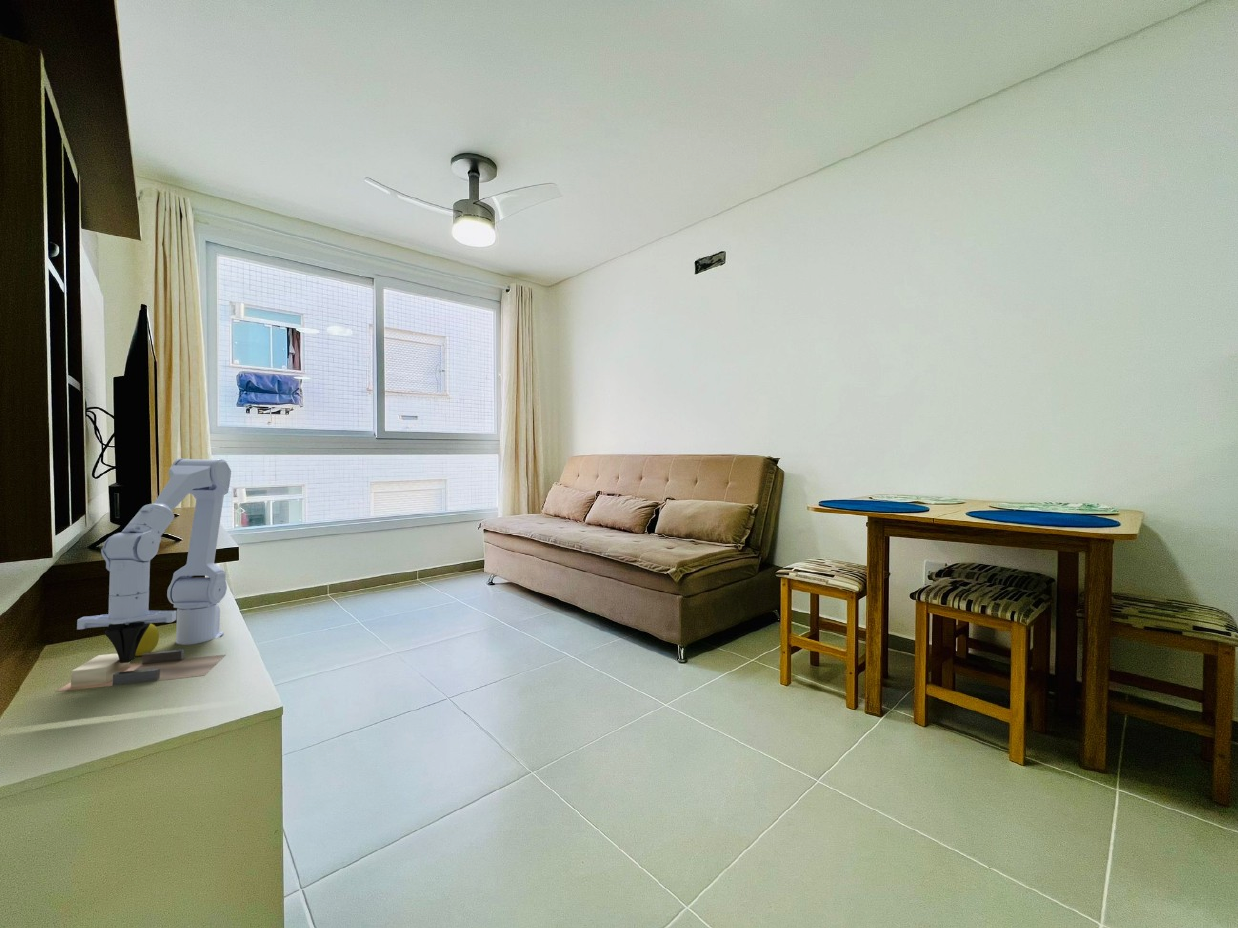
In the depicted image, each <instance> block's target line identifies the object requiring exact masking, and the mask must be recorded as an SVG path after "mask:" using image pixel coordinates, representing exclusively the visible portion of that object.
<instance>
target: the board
mask: <svg viewBox="0 0 1238 928" xmlns="http://www.w3.org/2000/svg"><path fill="white" fill-rule="evenodd" d="M225 657H226V654H218V655H209V656H206V655H205V656H197V657H187V658H186V657H184V659H183V660H181V661H173V662H162V663H152V664H142V662H136V663H135V662H134V663H130V667H129V668H128V669H126V670H125V671H135V670H145V669H155V668H160V678H159V679H158V680H157V681H156V682H159V681H168V680H169V681H170V680H176V679H177V680H178V679H185V678H186V679H187V678H188V679H189V678H196V677H197V678H198V677H205V676H207V674H208V673H209V672H210V671H211V670H213V668H215V666H216V665H217V664H218V663H220V662H221V660H223V658H225ZM125 671H123V672H125ZM149 682H150V683H151V682H153V681H149ZM149 682H148V683H149ZM141 683H143V682H140V683H139V684H141ZM132 684H134V683H131V685H132ZM121 685H124V686H125V684H121ZM121 685H120V686H121ZM113 686H115V687H116V685H113V679H112V680H110V681H109V682H108V683H106V684H97V685H88V686H78V687H71V681H69V683H67V684H65V685H64V686H62V687H60V688H59V689H57V690H55V693H57V692H67V691H76V690H77V691H79V690H86V689H87V690H88V689H96V688H104V687H113Z"/></svg>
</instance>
